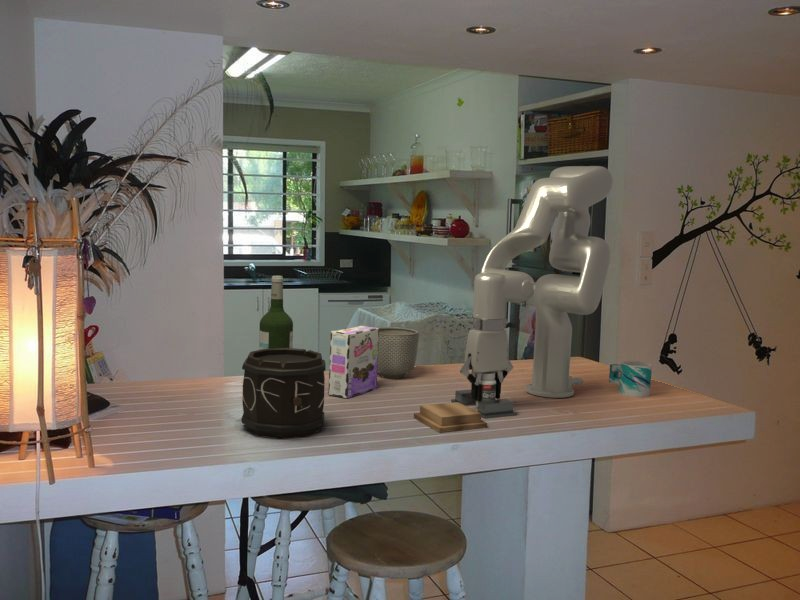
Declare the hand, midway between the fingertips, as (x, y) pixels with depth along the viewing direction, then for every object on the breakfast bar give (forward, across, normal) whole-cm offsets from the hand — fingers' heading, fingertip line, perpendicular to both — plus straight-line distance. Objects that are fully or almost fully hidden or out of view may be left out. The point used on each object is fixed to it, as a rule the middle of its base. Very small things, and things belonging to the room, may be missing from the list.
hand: (485, 398), depth 181 cm
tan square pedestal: (+2, +15, +8) cm, 17 cm away
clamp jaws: (+2, +1, 0) cm, 3 cm away
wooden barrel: (+1, +51, 0) cm, 51 cm away
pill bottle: (+2, 0, 0) cm, 2 cm away
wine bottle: (+2, +46, -23) cm, 51 cm away
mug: (+4, -47, -2) cm, 47 cm away
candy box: (+2, +25, -24) cm, 34 cm away
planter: (+3, +7, -38) cm, 39 cm away
